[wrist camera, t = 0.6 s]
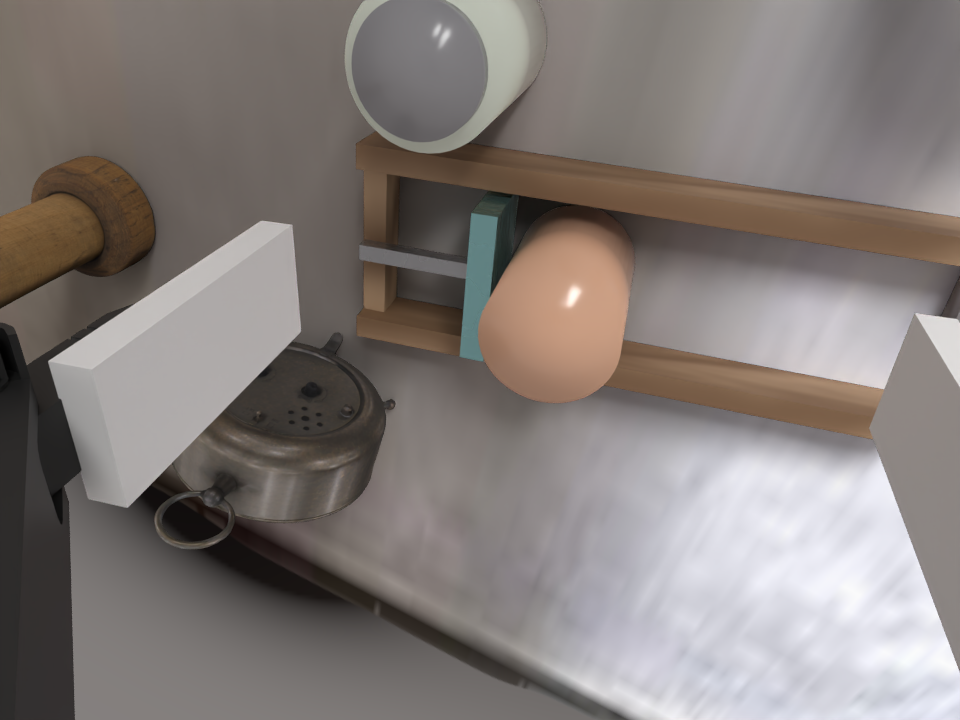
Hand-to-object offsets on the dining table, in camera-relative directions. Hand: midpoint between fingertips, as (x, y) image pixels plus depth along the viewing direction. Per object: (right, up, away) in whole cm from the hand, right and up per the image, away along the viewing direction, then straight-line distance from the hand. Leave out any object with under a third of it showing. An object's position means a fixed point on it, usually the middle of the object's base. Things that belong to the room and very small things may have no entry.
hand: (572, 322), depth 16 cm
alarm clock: (-11, -1, +29) cm, 31 cm away
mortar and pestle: (-24, +8, +28) cm, 38 cm away
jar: (-2, +14, +18) cm, 23 cm away
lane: (+6, +4, +21) cm, 23 cm away
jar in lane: (+3, +4, +22) cm, 23 cm away
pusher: (-4, +5, +23) cm, 24 cm away
